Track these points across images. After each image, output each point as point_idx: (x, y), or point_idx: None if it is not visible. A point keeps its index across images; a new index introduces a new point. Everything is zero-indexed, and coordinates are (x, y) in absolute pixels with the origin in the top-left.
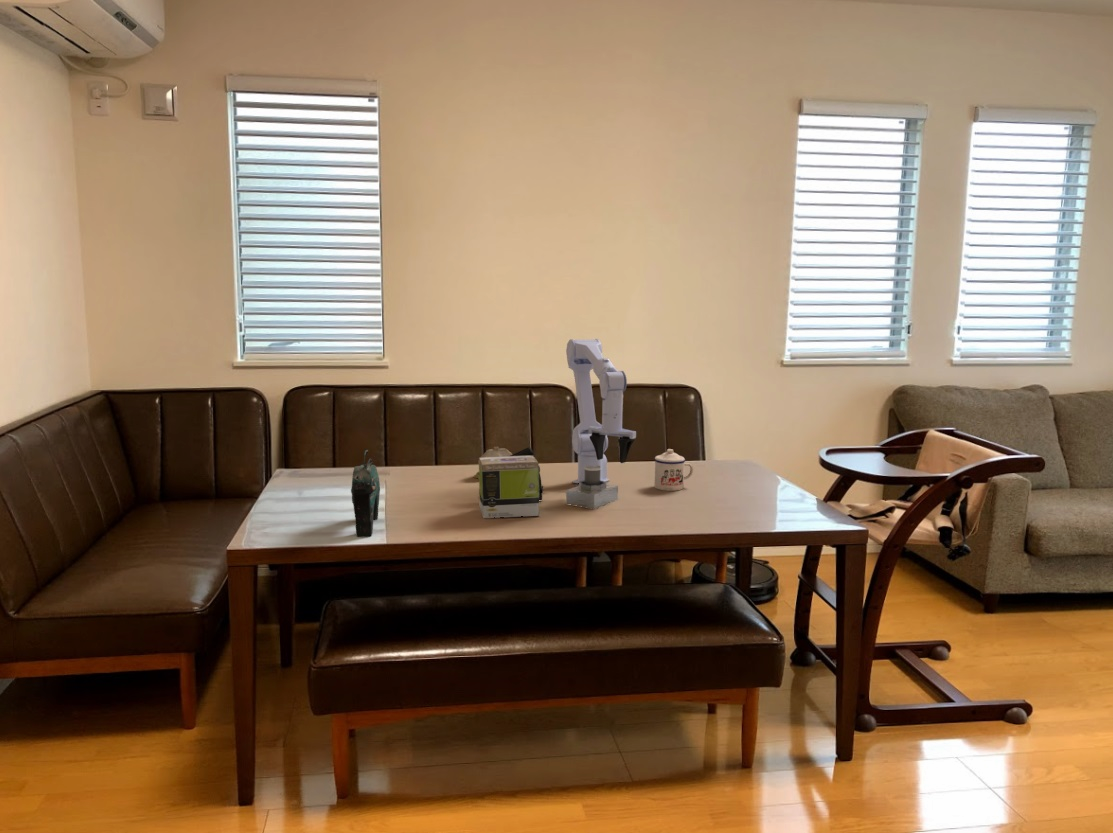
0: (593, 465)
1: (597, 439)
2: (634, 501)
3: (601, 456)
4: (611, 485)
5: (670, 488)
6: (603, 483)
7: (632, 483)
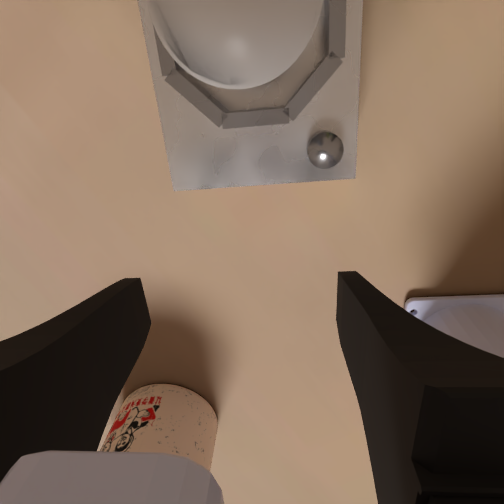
0: (269, 68)
1: (405, 401)
2: (119, 192)
3: (340, 316)
4: (202, 171)
5: (132, 394)
6: (191, 83)
7: (301, 404)
